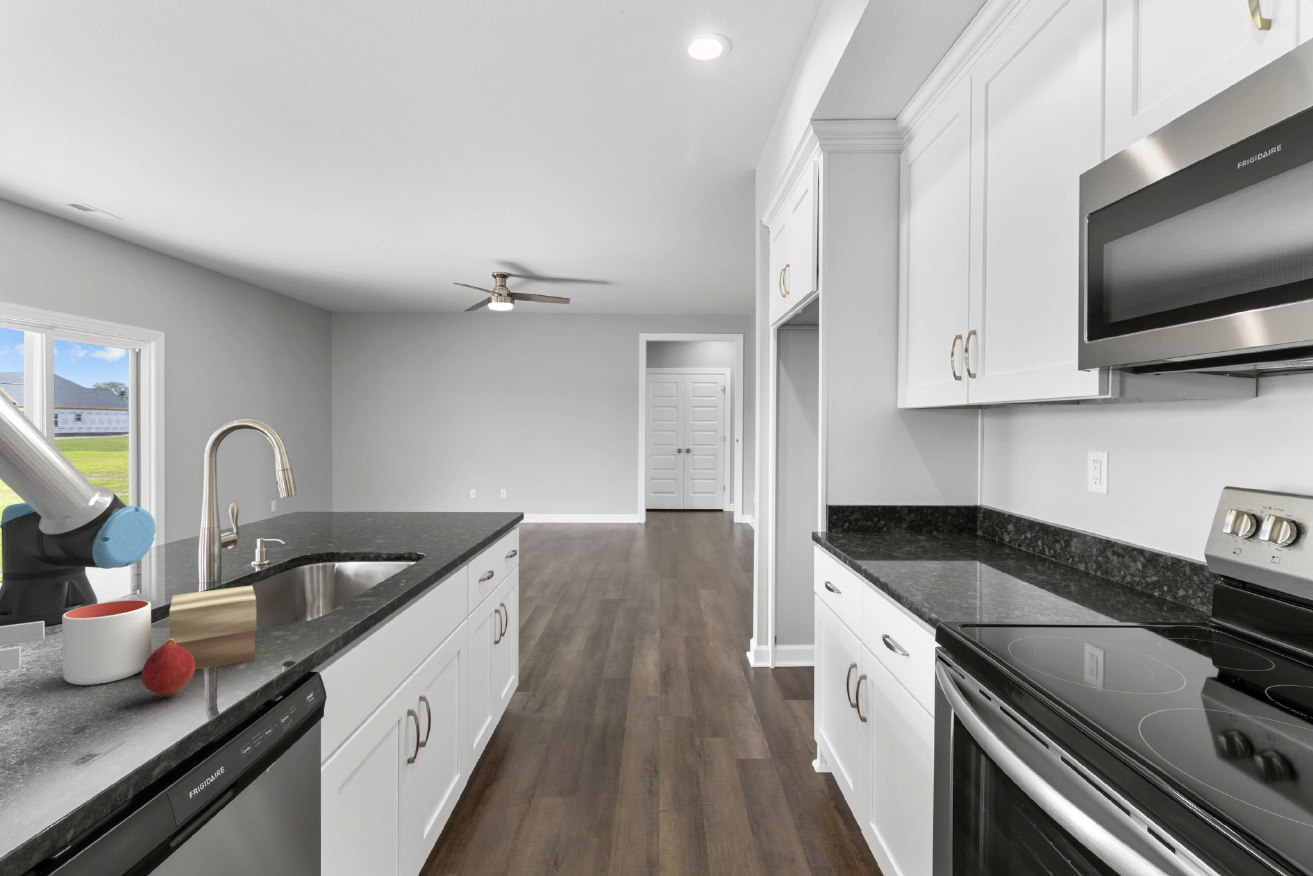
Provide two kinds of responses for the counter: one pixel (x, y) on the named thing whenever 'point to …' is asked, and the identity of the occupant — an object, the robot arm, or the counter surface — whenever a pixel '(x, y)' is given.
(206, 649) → the block bottom
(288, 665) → the counter surface
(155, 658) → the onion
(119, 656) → the cup
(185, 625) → the block top
